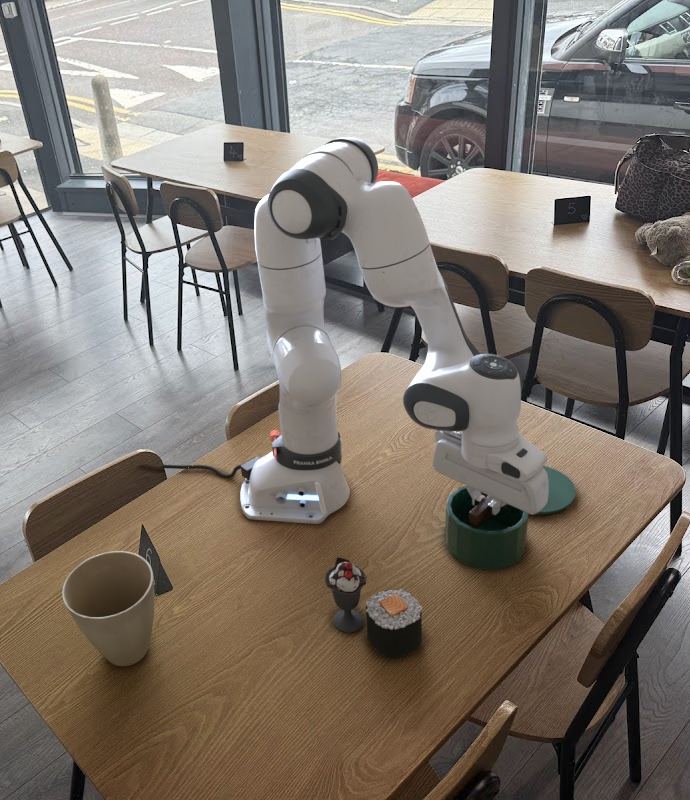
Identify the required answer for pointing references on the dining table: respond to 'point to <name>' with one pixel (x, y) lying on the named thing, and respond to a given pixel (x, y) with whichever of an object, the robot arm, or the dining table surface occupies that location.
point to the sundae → (346, 593)
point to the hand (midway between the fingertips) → (486, 508)
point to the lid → (558, 492)
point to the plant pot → (113, 604)
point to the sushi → (394, 623)
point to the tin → (484, 533)
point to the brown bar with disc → (482, 512)
